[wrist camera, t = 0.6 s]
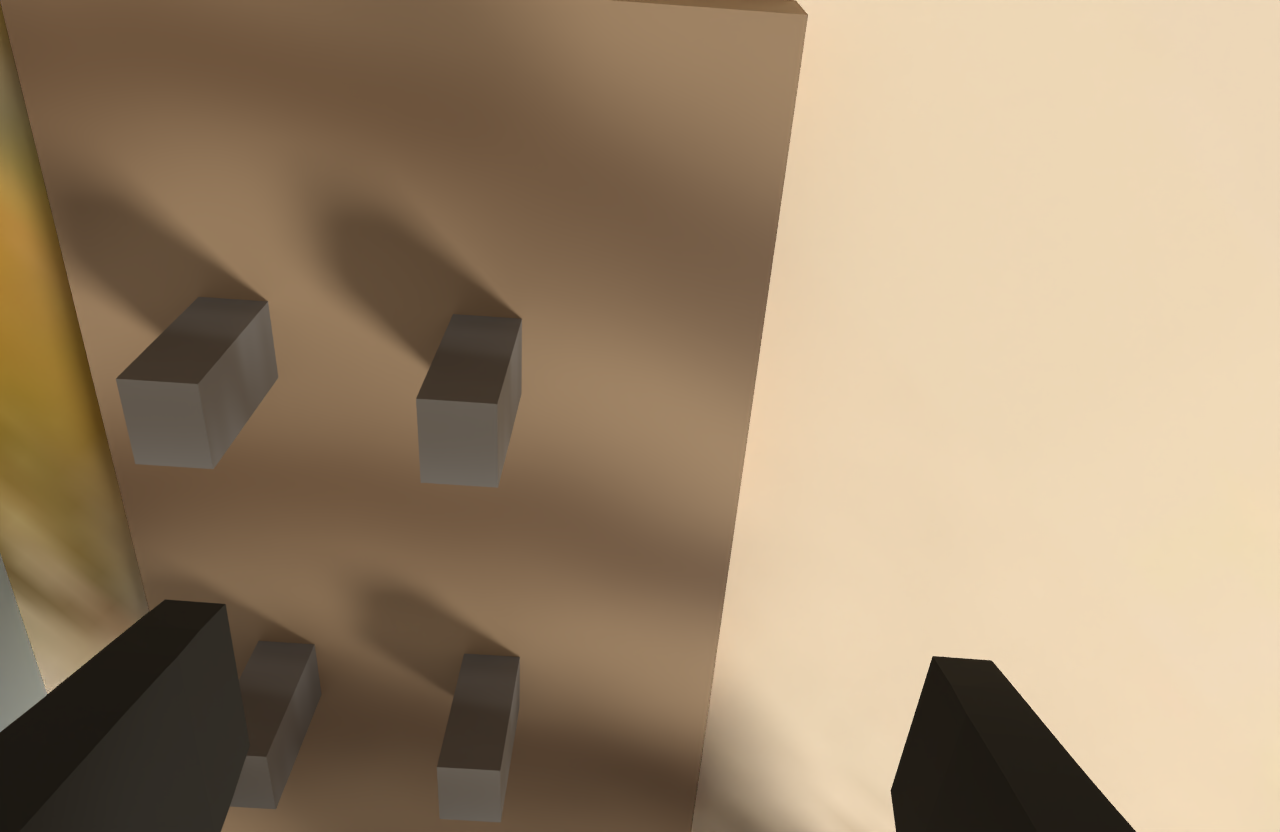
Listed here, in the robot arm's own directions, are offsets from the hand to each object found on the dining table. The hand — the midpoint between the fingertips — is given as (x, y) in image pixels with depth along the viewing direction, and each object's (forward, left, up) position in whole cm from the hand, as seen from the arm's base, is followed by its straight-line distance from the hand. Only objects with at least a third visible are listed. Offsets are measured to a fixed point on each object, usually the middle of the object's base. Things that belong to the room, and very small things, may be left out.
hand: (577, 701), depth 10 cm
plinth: (-4, +3, -10) cm, 11 cm away
